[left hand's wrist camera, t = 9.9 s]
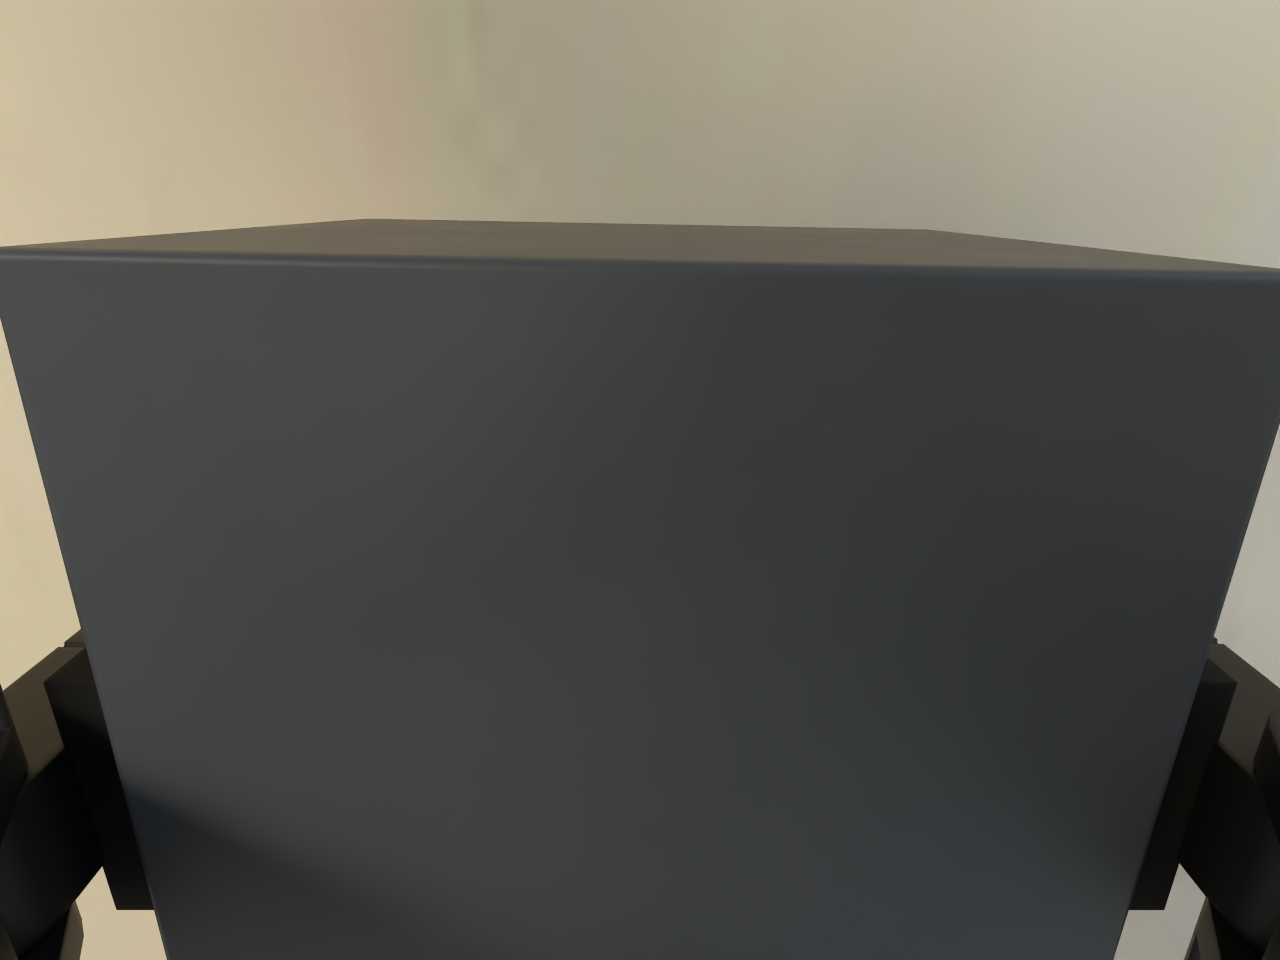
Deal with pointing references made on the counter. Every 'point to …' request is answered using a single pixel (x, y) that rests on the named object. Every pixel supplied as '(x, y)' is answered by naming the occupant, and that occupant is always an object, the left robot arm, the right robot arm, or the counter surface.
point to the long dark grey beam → (642, 577)
